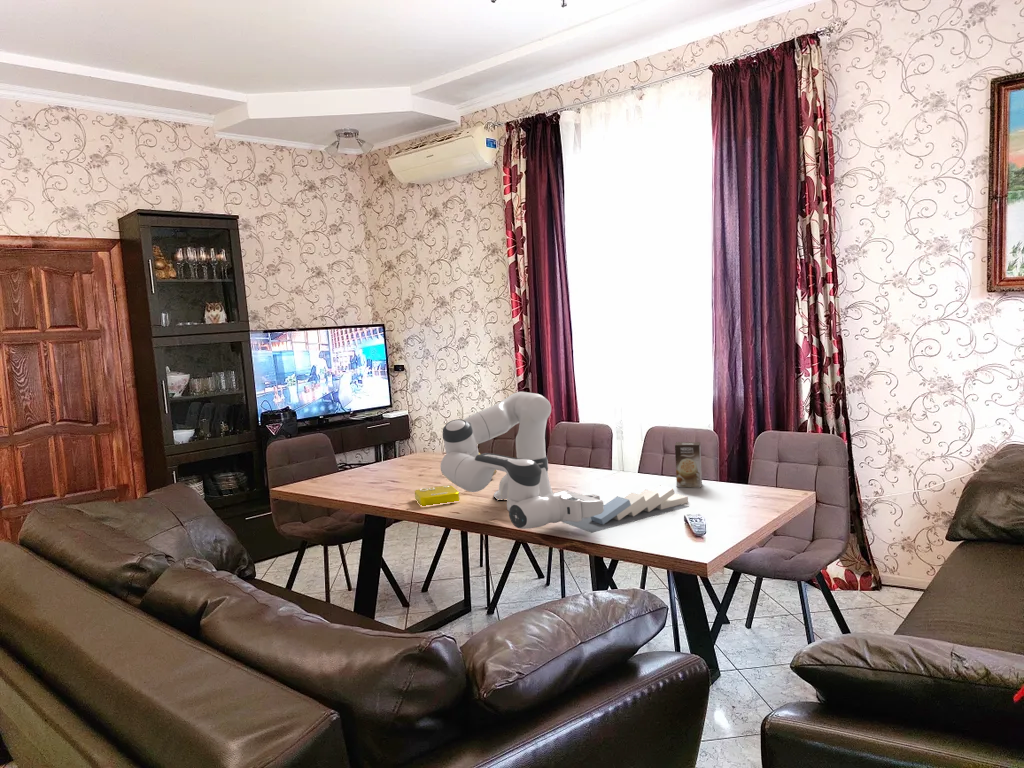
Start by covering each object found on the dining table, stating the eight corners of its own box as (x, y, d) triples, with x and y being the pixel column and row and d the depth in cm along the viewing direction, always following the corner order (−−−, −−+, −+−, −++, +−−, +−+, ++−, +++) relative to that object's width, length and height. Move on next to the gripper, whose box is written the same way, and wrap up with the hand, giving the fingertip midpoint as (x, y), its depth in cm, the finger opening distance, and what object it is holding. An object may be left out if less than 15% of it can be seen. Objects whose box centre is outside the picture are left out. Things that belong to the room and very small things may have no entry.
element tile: (421, 509, 257) (420, 496, 256) (414, 500, 271) (413, 488, 271) (461, 503, 261) (460, 491, 261) (452, 495, 276) (451, 483, 275)
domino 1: (616, 515, 219) (643, 495, 224) (605, 511, 224) (631, 492, 229) (618, 520, 219) (645, 501, 224) (607, 516, 224) (633, 498, 229)
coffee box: (676, 487, 259) (673, 445, 258) (677, 483, 265) (675, 441, 264) (701, 487, 256) (699, 444, 255) (702, 483, 262) (700, 441, 261)
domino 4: (660, 503, 228) (687, 496, 234) (648, 500, 233) (675, 493, 239) (661, 509, 228) (688, 502, 234) (648, 506, 233) (675, 499, 239)
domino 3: (647, 506, 225) (672, 488, 230) (635, 503, 230) (660, 485, 235) (649, 512, 225) (674, 493, 231) (637, 508, 231) (662, 490, 236)
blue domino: (601, 519, 216) (629, 499, 221) (589, 515, 221) (617, 496, 226) (603, 524, 216) (631, 505, 221) (591, 520, 221) (619, 501, 226)
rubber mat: (592, 535, 209) (591, 532, 209) (551, 520, 228) (551, 517, 228) (689, 509, 229) (689, 506, 229) (644, 497, 248) (644, 495, 248)
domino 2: (631, 511, 222) (657, 492, 227) (619, 507, 227) (645, 489, 232) (633, 516, 222) (659, 497, 227) (621, 513, 227) (647, 494, 232)
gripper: (542, 509, 220) (578, 501, 227) (580, 523, 203) (618, 513, 210) (541, 490, 220) (576, 482, 227) (579, 502, 202) (616, 493, 209)
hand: (596, 497), depth 218 cm, fingers closed
